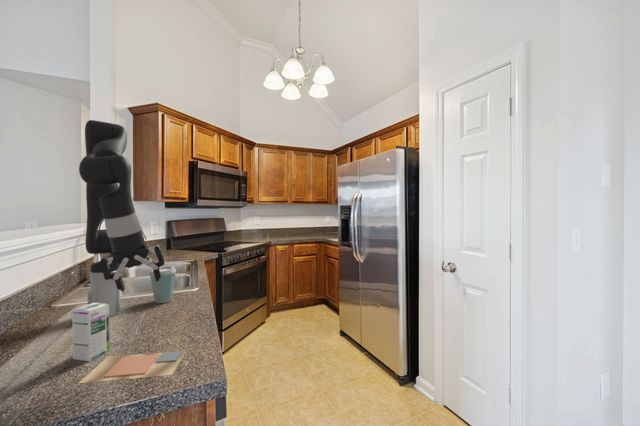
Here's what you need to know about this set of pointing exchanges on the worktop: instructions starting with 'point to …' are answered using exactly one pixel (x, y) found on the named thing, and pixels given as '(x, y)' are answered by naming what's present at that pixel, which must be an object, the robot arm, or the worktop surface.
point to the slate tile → (169, 356)
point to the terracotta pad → (132, 365)
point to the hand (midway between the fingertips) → (140, 285)
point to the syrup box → (90, 331)
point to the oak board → (153, 371)
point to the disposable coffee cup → (163, 284)
